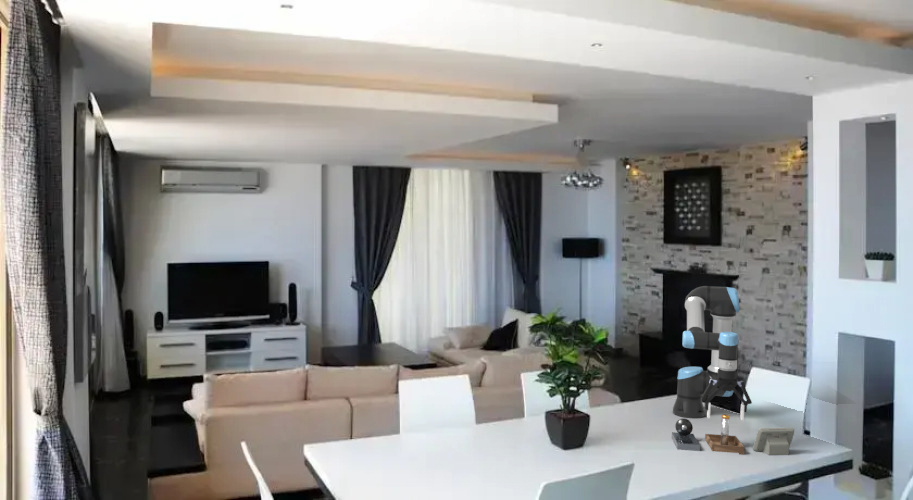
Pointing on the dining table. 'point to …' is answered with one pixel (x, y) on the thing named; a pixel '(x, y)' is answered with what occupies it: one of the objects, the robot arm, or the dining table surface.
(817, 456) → the dining table surface
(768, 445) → the digital clock
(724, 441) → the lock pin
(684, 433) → the tensioner block
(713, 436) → the walnut tray
